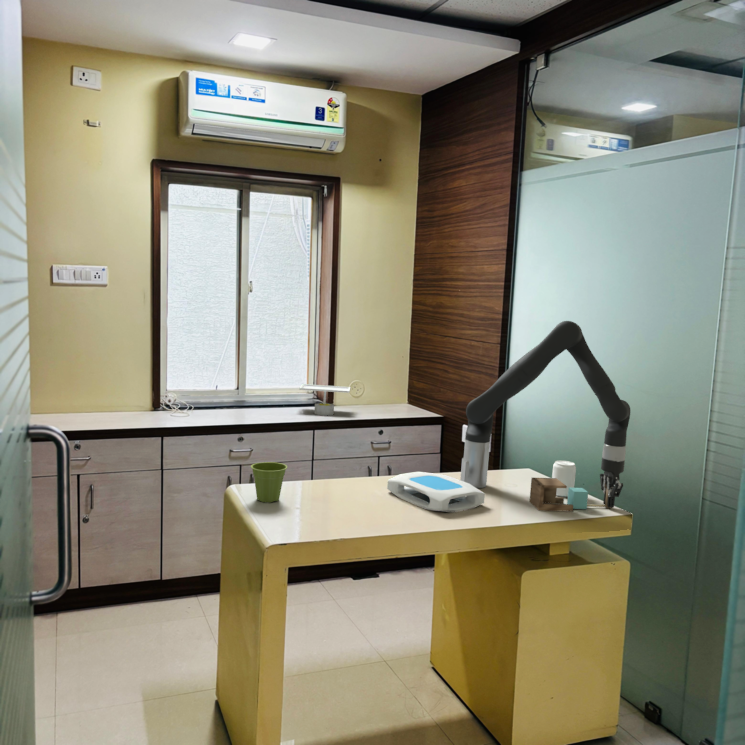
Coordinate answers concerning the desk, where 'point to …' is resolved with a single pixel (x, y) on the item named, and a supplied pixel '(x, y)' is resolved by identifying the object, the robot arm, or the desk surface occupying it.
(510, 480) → the desk surface
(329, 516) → the desk surface
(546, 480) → the walnut cubby
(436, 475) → the aerobic step platform
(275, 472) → the plant pot
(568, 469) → the beverage can
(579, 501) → the tethered block
